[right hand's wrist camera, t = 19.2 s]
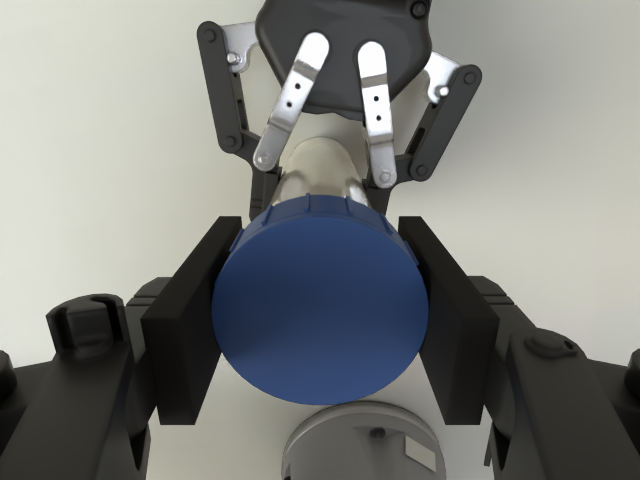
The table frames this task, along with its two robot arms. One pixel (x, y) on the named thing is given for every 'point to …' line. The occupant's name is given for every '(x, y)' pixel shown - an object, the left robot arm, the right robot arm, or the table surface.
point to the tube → (320, 173)
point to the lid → (320, 301)
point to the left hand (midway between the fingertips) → (314, 237)
